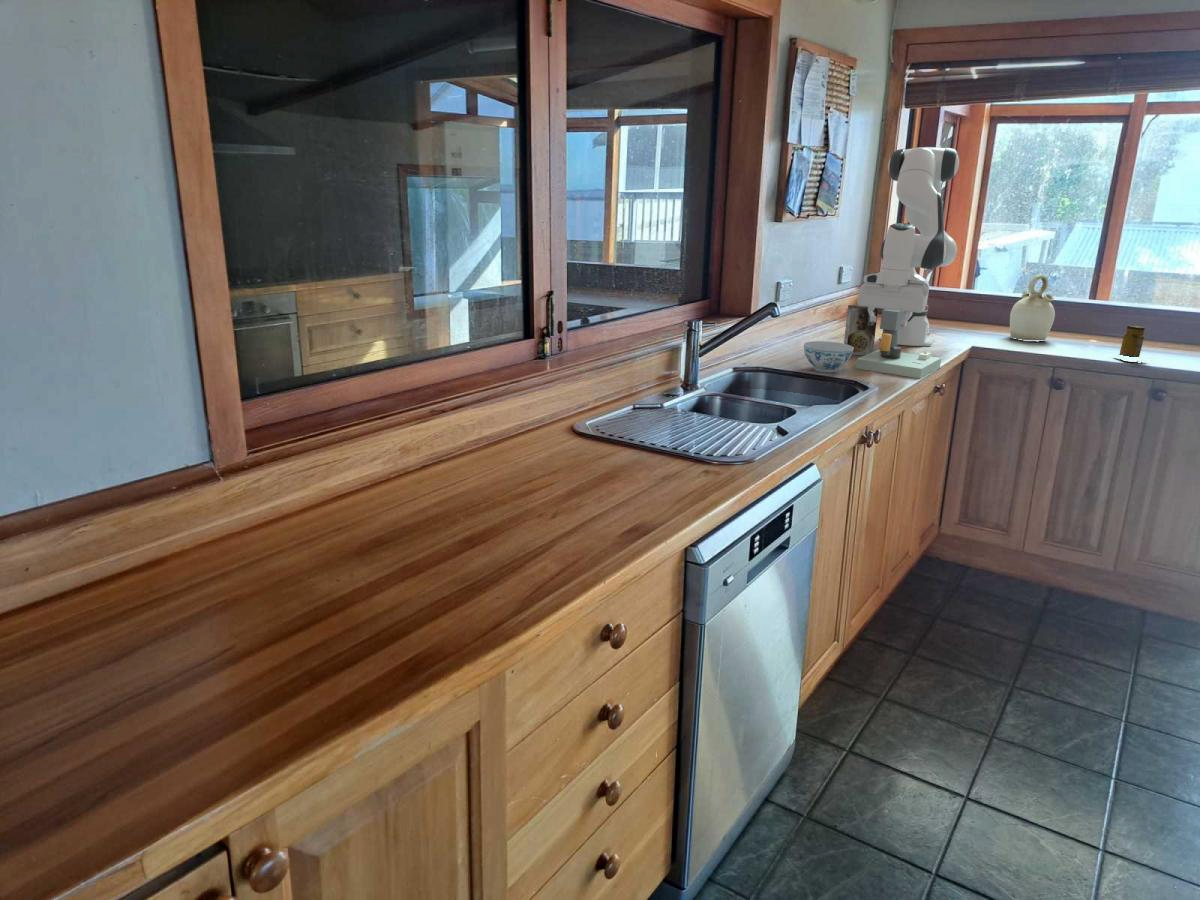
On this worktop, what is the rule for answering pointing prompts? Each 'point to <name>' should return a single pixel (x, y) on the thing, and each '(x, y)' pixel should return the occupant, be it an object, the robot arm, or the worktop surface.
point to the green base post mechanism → (907, 362)
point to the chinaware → (827, 355)
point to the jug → (1033, 313)
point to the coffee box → (860, 329)
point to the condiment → (1132, 341)
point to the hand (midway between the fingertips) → (888, 324)
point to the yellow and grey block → (889, 347)
